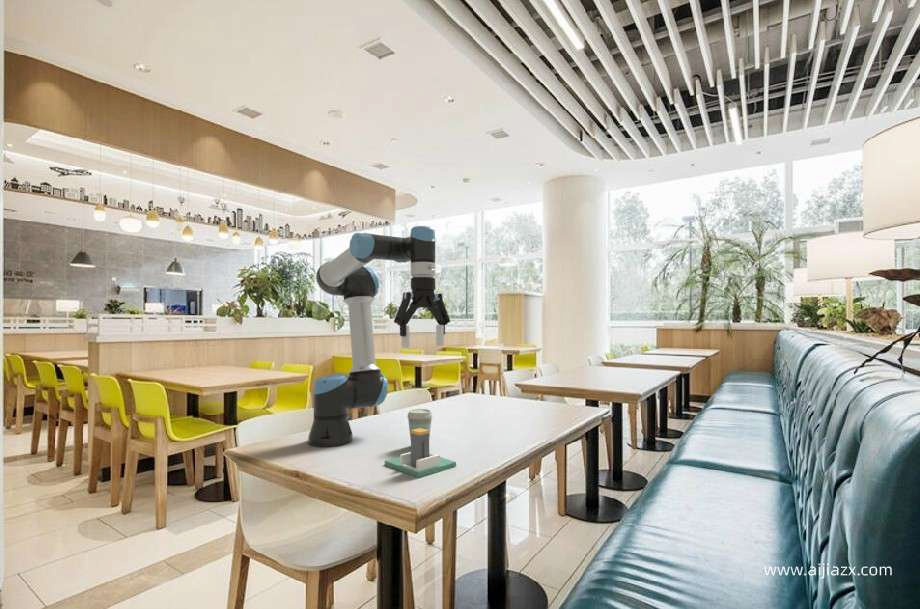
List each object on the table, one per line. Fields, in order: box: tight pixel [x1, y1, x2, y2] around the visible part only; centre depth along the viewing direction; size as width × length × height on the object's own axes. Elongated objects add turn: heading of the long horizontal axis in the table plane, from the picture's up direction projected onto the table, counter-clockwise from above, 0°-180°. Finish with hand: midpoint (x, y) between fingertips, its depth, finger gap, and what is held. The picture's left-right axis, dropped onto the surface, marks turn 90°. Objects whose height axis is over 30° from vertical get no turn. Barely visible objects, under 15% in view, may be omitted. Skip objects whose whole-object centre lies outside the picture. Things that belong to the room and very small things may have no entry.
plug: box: [410, 428, 430, 467], centre depth 133 cm, size 5×4×10 cm
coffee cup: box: [406, 408, 433, 440], centre depth 158 cm, size 8×8×12 cm
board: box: [384, 451, 457, 478], centre depth 137 cm, size 16×14×4 cm
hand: (423, 346), depth 142 cm, fingers open, 13 cm apart
